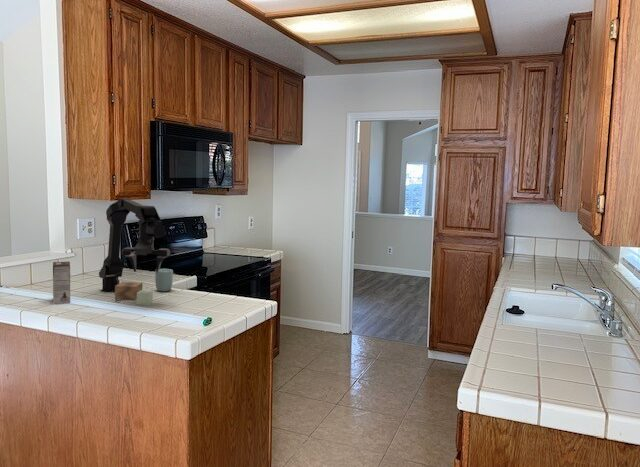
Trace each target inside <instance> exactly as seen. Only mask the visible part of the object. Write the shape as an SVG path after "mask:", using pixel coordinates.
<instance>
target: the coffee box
mask: <svg viewBox="0 0 640 467" xmlns="http://www.w3.org/2000/svg"><path fill="white" fill-rule="evenodd" d="M52 295H53V296H52V298H53V300H52V301H53V305H54V304H56V305H57V304H69V303H71V262H70V261H69V260H68V261H53V262H52Z"/></svg>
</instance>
